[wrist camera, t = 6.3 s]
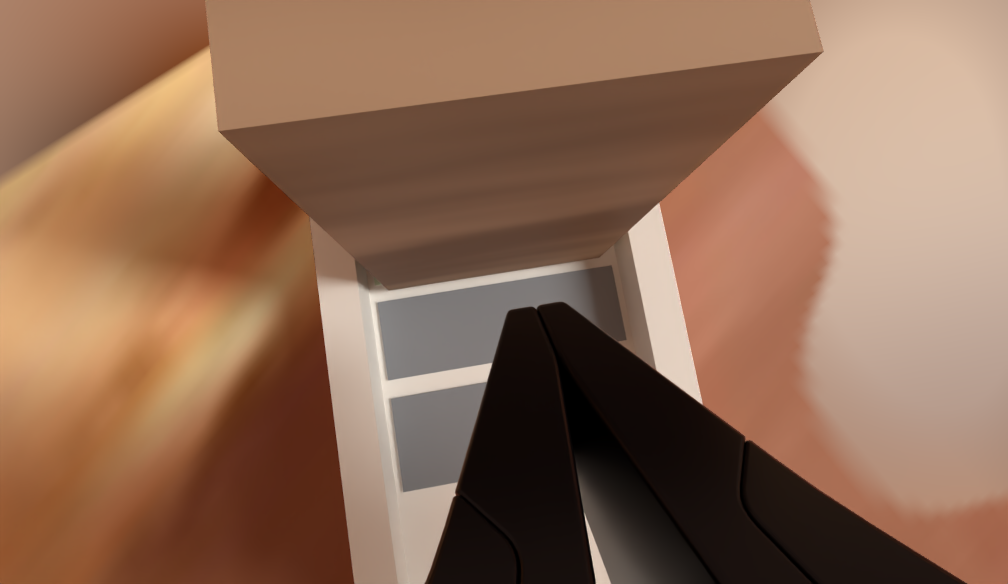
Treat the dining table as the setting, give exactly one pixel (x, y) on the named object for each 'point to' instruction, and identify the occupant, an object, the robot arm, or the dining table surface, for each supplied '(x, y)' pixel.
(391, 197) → the walnut block
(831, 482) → the dining table surface
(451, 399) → the white rectangular recessed tray
